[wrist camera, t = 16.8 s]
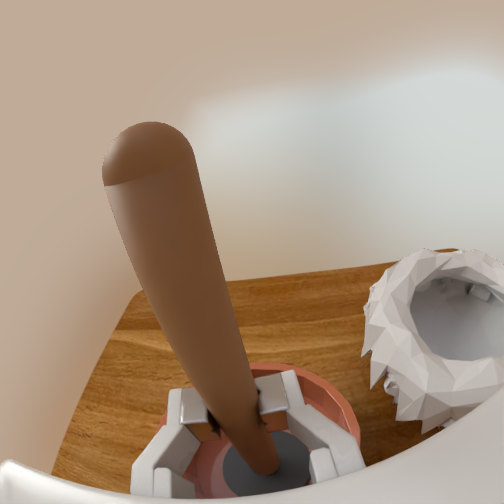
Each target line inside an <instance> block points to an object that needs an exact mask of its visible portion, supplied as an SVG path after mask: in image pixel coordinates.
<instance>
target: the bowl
mask: <svg viewBox="0 0 504 504" xmlns="http://www.w3.org/2000/svg"><path fill="white" fill-rule="evenodd" d="M364 311H365V313H364V315H365V316H366V322H365V339H364V345H363V349H362V355H361V357H363V356H365V355H367V354H370V353H372V357H371V384H370V390H371V388H372V387H373V386H374V385H375V384H376V383H377V382H378V381H379V380H380V379H381V377H382V376H383V375H385V376H386V378H385V382H384V388H385V392H386V394H389V395H392V396H394V400H393V403H394V402H395V401H396V404H397V402H398V406H397V414H396V421H412V420H423V424H422V432H421V435H422V434H424V433H426V432H428V431H429V430H431V429H433V428H435V427H436V426H438V429H439V428H440V427H441V426H443V427H444V428H447V427H448V426H450V425H451V424H453V423H454V422H456V421H458V420H459V419H461V418H462V417H463V416H465V415H466V414H468V413H469V412H471V411H472V410H473V409H475V408H476V407H477V406H479V405H480V404H481V403H483V402H484V401H485V400H487V399H488V398H489V397H490V396H492V395H493V394H494V393H495V392H496V391H498V390H499V389H500V388H501V387H502V386H503V385H504V264H501V263H500V262H499V261H498V260H496V259H495V258H493V257H491V256H490V255H488V254H486V253H484V252H481V251H477V250H472V251H465V250H459V251H455V252H452V253H438V252H435V251H432V250H429V249H425V248H424V249H422V250H420V251H417V252H416V253H413V254H411V255H409V256H407V257H405V258H403V259H401V260H400V261H399V262H397V263H396V264H394V265H393V266H391V267H390V268H389V269H387V270H386V271H385V272H384V275H383V276H382V278H381V279H380V280H379V281H378V282H377V283H375V284H374V285H373V286H372V287H370V295H369V300H368V303H367V304H366V305H365V306H364ZM393 403H392V404H393Z"/></svg>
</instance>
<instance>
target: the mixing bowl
mask: <svg viewBox="0 0 504 504" xmlns="http://www.w3.org/2000/svg"><path fill="white" fill-rule="evenodd" d="M249 365H250V369H251V372H252V375H253V379H254V378H256V377H260V376H265V375H269V374H274V373H278V372H280V373H281V372H284V371H288V370H292V369H294V371H295V373H296V376H297V380H298V383H299V386H300V390H301V393H302V396H303V400H304V403H305V405H307V404H310V405H311V406H312V407H314V408H315V409H316V410H318V411H319V412H320V413H322V414H323V415H324V416H326V417H327V418H328V419H330V420H331V421H333V422H334V423H335V424H337V425H338V426H340V427H341V428H343V429H344V430H346V431H347V432H348V433H350V434H351V435H353V436H354V437H355V439H356V441H357V444H358V447H359V449H360V451H361V431H360V426H359V424H358V421H357V419H356V416H355V414H354V412H353V409H352V407H351V404H350V403H349V402H348V401H347V400H346V399H345V398H344V396H343V395H342V394H341V393H340V392H339V391H338V390H337V389H336V388H335V387H334V386H333V384H331V383H330V382H328V381H326V380H324V379H323V378H321V377H319V376H318V375H316V374H314V373H312V372H311V371H308V370H306V369H302V368H298V367H294V366H290V365H287V364H282V363H260V362H255V363H254V362H253V363H249ZM254 382H255V381H254ZM191 387H194V386H193V385H191V386H190V387H189V388H191ZM167 412H168V409H167V410H166V411H165V413H164V414H163V417H162V419H161V421H160V424H159V426H158V428H157V431H156V433H155V435H156V434H157V433H158V431H159V430H160V429H161V428H162V426H163V425H167ZM220 429H221V428H220ZM282 431H285V432H288V433H290V434H292V435H294V434H293V433H291V432H290V431H289V429H287V430H282ZM294 436H295V435H294ZM200 443H201V444H200V446H199V448H198V450H197V451H196V453H195V455H194V457H193V458H192V460H191V462H190V464H189V465H188V467H187V469H186V471H185V472H184V474H183V476H182V477H183V478H185V479H187V480H189V481H190V482H192V483H193V484H194V485H195V498H196V499H217V498H233V497H239V496H237V495H236V494H235V493H233V492H232V491H231V490H230V488H229V487H228V486H227V484H226V482H225V480H224V477H223V472H222V465H223V460H224V457H225V455H226V453H227V451H228V449H229V448H230V447H231V446H232V445H233V444H232V443H231V442H230V440H229V439H228V438H227V436H226V435H225V433H224V432H223V430H222V429H221V440H216V441H207V442H200ZM307 448H308V447H307ZM308 449H309V448H308ZM309 452H310V454H311V452H312V450H310V449H309ZM312 484H313V483H312V479H311V480H310V482H309V485H312Z"/></svg>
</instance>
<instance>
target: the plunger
mask: <svg viewBox="0 0 504 504" xmlns="http://www.w3.org/2000/svg"><path fill="white" fill-rule="evenodd" d="M102 177H103V182H104V187H105V190H106V194H107V197H108V200H109V203H110V206H111V209H112V212H113V215H114V218H115V220H116V223H117V226H118V229H119V231H120V234H121V237H122V240H123V242H124V245H125V248H126V250H127V253H128V255H129V257H130V260H131V263H132V265H133V267H134V270H135V272H136V275H137V277H138V279H139V281H140V284H141V286H142V288H143V290H144V293H145V295H146V297H147V299H148V301H149V304H150V306H151V308H152V310H153V312H154V314H155V316H156V318H157V320H158V322H159V324H160V326H161V328H162V330H163V332H164V334H165V336H166V338H167V340H168V342H169V344H170V345H171V347H172V349H173V351H174V353H175V355H176V356H177V358H178V360H179V362H180V364H181V365H182V367H183V369H184V371H185V372H186V374H187V376H188V377H189V379H190V381H191V383H192V384H193V386H194V387H195V389H196V391H197V392H198V394H199V396H200V397H201V399H202V400H203V402H204V404H205V405H206V407H207V408H208V410H209V411H210V413H211V414H212V416H213V417H214V419H215V420H216V422H217V423H218V425H219V426H220V428H221V429H222V430H223V432H224V433H225V435H226V436H227V438H228V439H229V440H230V442H231V443H232V444H233V445H232V446H231V447H230V448H229V449H228V451H227V453H226V455H225V457H224V460H223V465H222V472H223V477H224V480H225V482H226V484H227V486H228V487H229V488H230V490H231V491H232V492H233V493H235V494H236V495H237V496H239V497H244V496H253V495H261V494H267V493H274V492H279V491H285V490H290V489H295V488H299V487H304V486H308V485H309V482H310V480H311V475H310V471H309V462H310V452H309V449H308V448H307V446H306V445H305V444H304V443H302V442H301V441H300V440H299V439H298V438H297V437H296V436H294V435H292V434H290V433H288V432H285V431H277V432H271V433H267V432H266V429H265V426H264V422H263V421H262V418H261V415H260V410H259V405H258V396H259V395H258V392H257V388H256V385H255V382H254V379H253V375H252V372H251V369H250V365H249V362H248V359H247V355H246V352H245V349H244V345H243V342H242V338H241V335H240V331H239V328H238V324H237V321H236V317H235V314H234V310H233V307H232V303H231V300H230V296H229V292H228V289H227V285H226V281H225V277H224V274H223V270H222V266H221V262H220V259H219V255H218V251H217V247H216V243H215V239H214V235H213V231H212V227H211V224H210V219H209V215H208V211H207V207H206V203H205V199H204V194H203V190H202V186H201V182H200V178H199V173H198V169H197V164H196V160H195V155H194V152H193V149H192V147H191V145H190V143H189V142H188V140H187V139H186V138H185V137H184V135H183V134H182V133H181V132H179V131H178V130H177V129H175V128H174V127H172V126H169V125H167V124H164V123H159V122H143V123H139V124H136V125H134V126H131V127H129V128H127V129H126V130H124V131H123V132H121V133H120V134H119V135H118V136H117V137H116V138H115V139H114V140H113V142H112V143H111V145H110V146H109V148H108V150H107V152H106V155H105V157H104V162H103V166H102Z"/></svg>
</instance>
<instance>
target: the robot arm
mask: <svg viewBox="0 0 504 504" xmlns="http://www.w3.org/2000/svg"><path fill="white" fill-rule="evenodd" d="M254 381H255V385H256V388H257V392H258V395H259V396H258V405H259V410H260V415H261V418H262V421H263V422H264V426H265V429H266V432H267V433H271V432H277V431H282V430H287V429H289V431H290V432H291V433H293V434H294V435H295V436H296V437H297V438H298V439H299V440H300V441H301V442H302V443H304V444H305V445H306V446H307V447H308V448H309V449H310V450H312V452H311V454H310V462H309V471H310V475H311V479H312V483H313V484H312V485H308V486H304V487H299V488H295V489H290V490H285V491H279V492H274V493H267V494H261V495H253V496H244V497H233V498H217V499H196V498H195V485H194V484H193V483H192V482H190V481H189V480H187V479H185V478H183V477H182V476H183V474H184V472H185V471H186V469H187V467H188V465H189V464H190V462H191V460H192V458H193V457H194V455H195V453H196V451H197V450H198V448H199V446H200V444H201V443H200V442H207V441H216V440H221V429H220V426H219V425H218V423H217V422H216V420H215V419H214V417H213V416H212V414H211V413H210V411H209V410H208V408H207V407H206V405H205V404H204V402H203V400H202V399H201V397H200V396H199V394H198V392H197V391H196V389H195V387H191V388H179V389H171V390H170V392H169V399H168V412H167V425H163V426H162V428H161V429H160V430H159V431H158V433H157V434H156V435H155V437H154V438H153V439H152V441H151V442H150V443H149V444H148V446H147V447H146V448H145V449H144V451H143V452H142V453H141V455H140V456H139V457H138V458H137V460H136V461H135V462H134V463H133V465H132V473H131V488H130V494H125V493H119V492H113V491H108V490H103V489H98V488H94V487H90V486H86V485H82V484H78V483H75V482H71V481H68V480H65V479H61V478H58V477H55V476H52V475H50V474H47V473H44V472H41V471H39V470H36V469H34V468H31V467H29V466H26V465H24V464H21V463H19V462H17V461H15V460H12V459H7V460H5V461H4V462H2V463H1V464H0V504H504V385H503V386H502V387H501V388H500V389H499V390H498V391H496V392H495V393H494V394H493V395H492V396H490V397H489V398H488V399H487V400H485V401H484V402H483V403H481V404H480V405H479V406H477V407H476V408H475V409H473V410H472V411H471V412H469V413H468V414H466V415H465V416H463V417H462V418H461V419H459V420H458V421H456V422H454V423H453V424H451V425H450V426H448V427H447V428H445V429H443V430H442V431H440V432H438V433H437V434H435V435H433V436H432V437H430V438H428V439H426V440H424V441H423V442H421V443H419V444H417V445H415V446H413V447H411V448H409V449H407V450H405V451H403V452H401V453H399V454H397V455H395V456H392V457H390V458H388V459H386V460H383V461H381V462H378V463H376V464H374V465H371V466H369V467H366V466H365V463H364V460H363V457H362V455H361V452H360V449H359V447H358V444H357V441H356V439H355V437H354V436H353V435H351V434H350V433H348V432H347V431H346V430H344V429H343V428H341V427H340V426H338V425H337V424H335V423H334V422H333V421H331V420H330V419H328V418H327V417H326V416H324V415H323V414H322V413H320V412H319V411H318V410H316V409H315V408H314V407H312V406H311V405H310V404H307V405H305V403H304V400H303V396H302V393H301V390H300V386H299V383H298V380H297V376H296V373H295V371H294V369H292V370H288V371H284V372H281V373H280V372H278V373H274V374H269V375H265V376H260V377H256V378H254Z"/></svg>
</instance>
